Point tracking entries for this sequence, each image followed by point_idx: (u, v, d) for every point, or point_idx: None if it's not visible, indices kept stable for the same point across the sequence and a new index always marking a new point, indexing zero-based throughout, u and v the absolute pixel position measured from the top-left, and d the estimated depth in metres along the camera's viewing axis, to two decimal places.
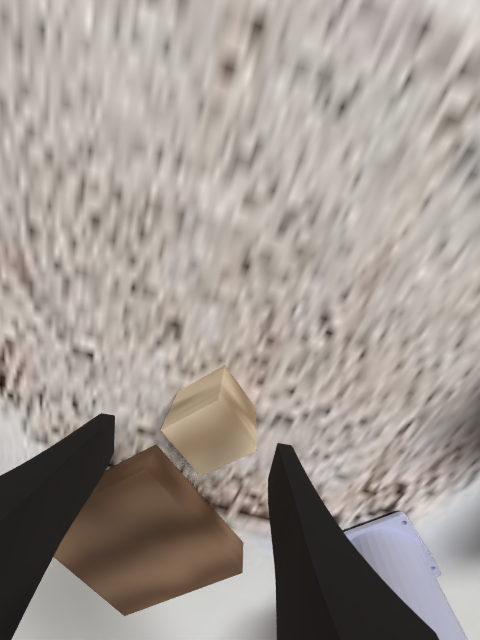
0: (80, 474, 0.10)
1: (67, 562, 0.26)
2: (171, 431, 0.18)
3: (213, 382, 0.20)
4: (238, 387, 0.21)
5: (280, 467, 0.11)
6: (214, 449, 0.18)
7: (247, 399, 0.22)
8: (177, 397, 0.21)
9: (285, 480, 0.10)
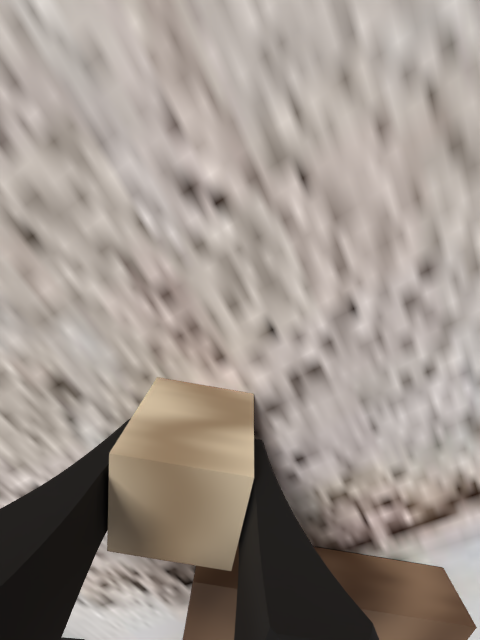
0: None
1: None
2: (119, 542, 0.10)
3: None
4: (197, 390, 0.12)
5: None
6: (198, 523, 0.09)
7: (225, 395, 0.12)
8: None
9: None
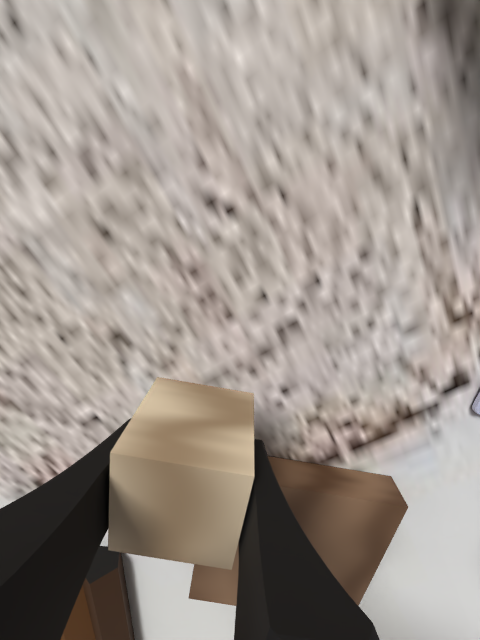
0: None
1: None
2: (120, 541, 0.10)
3: None
4: (197, 390, 0.12)
5: None
6: (198, 521, 0.09)
7: (225, 394, 0.12)
8: None
9: None
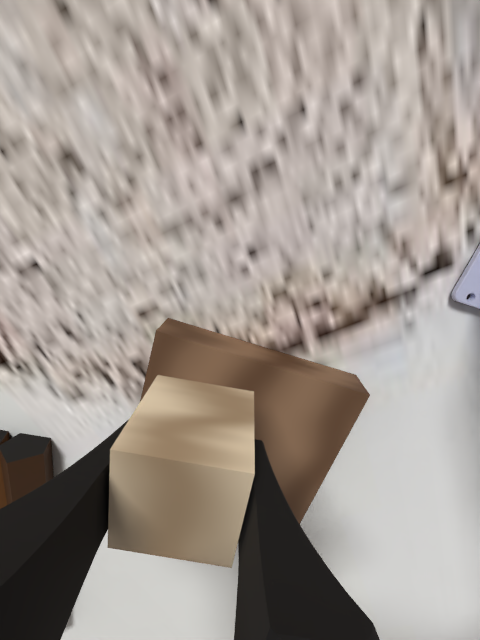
0: None
1: None
2: (120, 538, 0.10)
3: None
4: (197, 388, 0.12)
5: None
6: (198, 519, 0.09)
7: (226, 392, 0.12)
8: None
9: None
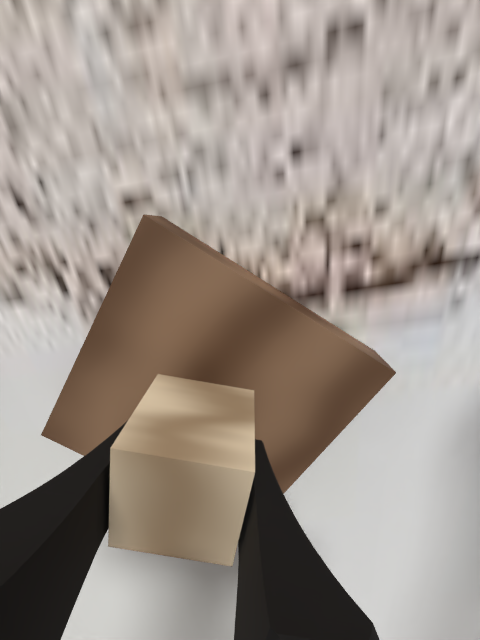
0: None
1: None
2: (121, 537, 0.10)
3: None
4: (197, 387, 0.12)
5: None
6: (199, 518, 0.09)
7: (226, 391, 0.12)
8: None
9: None
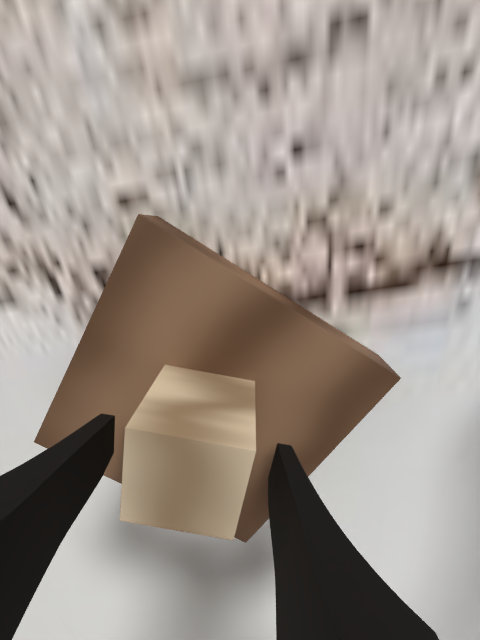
0: (80, 474, 0.10)
1: (121, 475, 0.16)
2: (131, 512, 0.11)
3: None
4: (202, 377, 0.13)
5: (280, 467, 0.11)
6: (204, 494, 0.10)
7: (229, 381, 0.13)
8: None
9: (285, 480, 0.10)
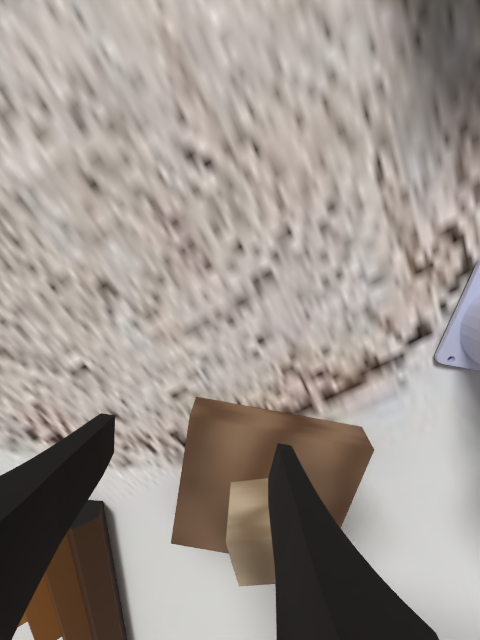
0: (80, 473, 0.10)
1: None
2: (243, 580, 0.19)
3: None
4: (254, 485, 0.22)
5: (280, 467, 0.11)
6: None
7: None
8: None
9: (285, 480, 0.10)
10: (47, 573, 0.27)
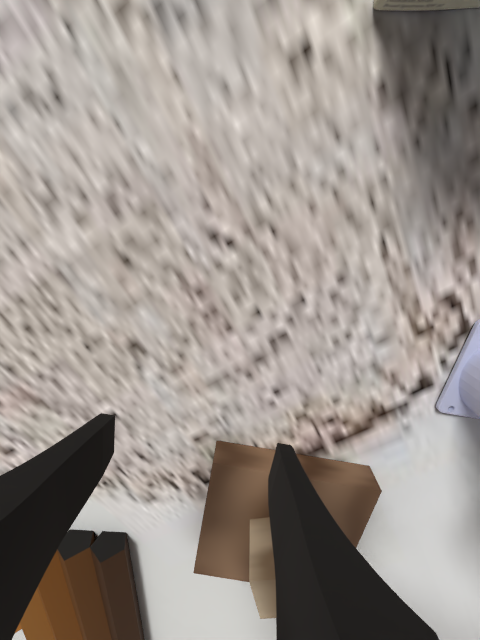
0: (80, 474, 0.10)
1: (246, 577, 0.27)
2: (264, 614, 0.21)
3: None
4: None
5: (280, 467, 0.11)
6: None
7: None
8: None
9: (285, 480, 0.10)
10: (76, 601, 0.29)
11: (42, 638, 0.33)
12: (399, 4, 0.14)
